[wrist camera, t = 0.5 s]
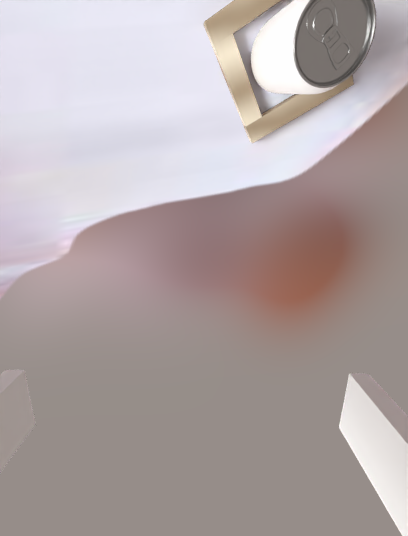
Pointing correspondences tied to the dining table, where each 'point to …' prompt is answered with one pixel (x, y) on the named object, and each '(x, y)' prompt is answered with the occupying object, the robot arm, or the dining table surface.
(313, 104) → the holder
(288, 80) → the can
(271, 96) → the dining table surface
